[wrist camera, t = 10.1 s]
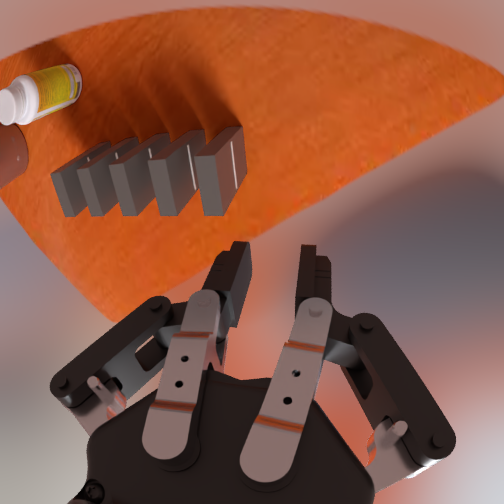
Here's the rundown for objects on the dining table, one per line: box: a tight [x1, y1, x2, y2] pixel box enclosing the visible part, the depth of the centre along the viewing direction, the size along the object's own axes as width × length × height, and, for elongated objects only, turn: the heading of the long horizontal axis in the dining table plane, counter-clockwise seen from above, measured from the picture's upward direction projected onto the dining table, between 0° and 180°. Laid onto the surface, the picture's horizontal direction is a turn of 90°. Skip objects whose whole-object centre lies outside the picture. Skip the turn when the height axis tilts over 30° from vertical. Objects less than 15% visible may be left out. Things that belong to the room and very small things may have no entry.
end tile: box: [50, 141, 111, 217], centre depth 29 cm, size 2×5×9 cm, turn 6°
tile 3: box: [109, 133, 171, 216], centre depth 28 cm, size 2×5×9 cm, turn 6°
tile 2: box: [148, 129, 206, 216], centre depth 27 cm, size 2×5×9 cm, turn 6°
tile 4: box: [77, 137, 139, 216], centre depth 28 cm, size 2×5×9 cm, turn 6°
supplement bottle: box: [0, 64, 82, 125], centre depth 23 cm, size 6×6×10 cm
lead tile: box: [194, 126, 247, 216], centre depth 26 cm, size 2×5×9 cm, turn 7°
